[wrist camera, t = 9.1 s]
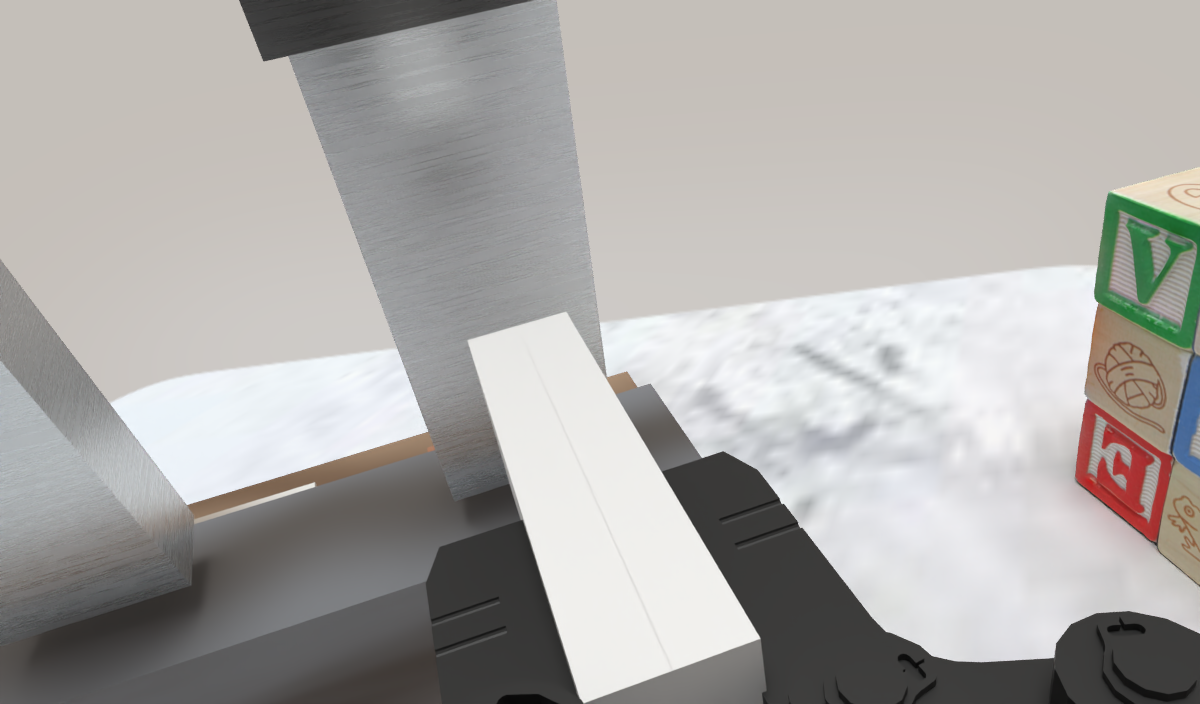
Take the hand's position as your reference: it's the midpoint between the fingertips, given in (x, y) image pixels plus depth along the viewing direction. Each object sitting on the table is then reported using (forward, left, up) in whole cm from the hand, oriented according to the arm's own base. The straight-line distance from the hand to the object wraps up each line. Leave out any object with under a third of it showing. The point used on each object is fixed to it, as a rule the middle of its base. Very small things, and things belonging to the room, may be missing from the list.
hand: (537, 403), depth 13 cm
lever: (-2, +6, -5) cm, 8 cm away
